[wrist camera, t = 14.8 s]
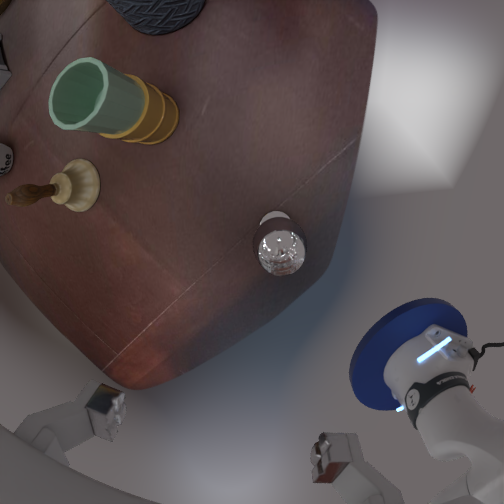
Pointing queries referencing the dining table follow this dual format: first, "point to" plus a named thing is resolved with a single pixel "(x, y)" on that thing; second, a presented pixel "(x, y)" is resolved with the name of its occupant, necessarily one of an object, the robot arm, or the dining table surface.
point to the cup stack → (152, 117)
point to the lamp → (4, 5)
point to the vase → (157, 14)
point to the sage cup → (95, 98)
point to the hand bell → (63, 188)
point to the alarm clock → (3, 70)
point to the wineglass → (279, 244)
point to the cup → (5, 159)
